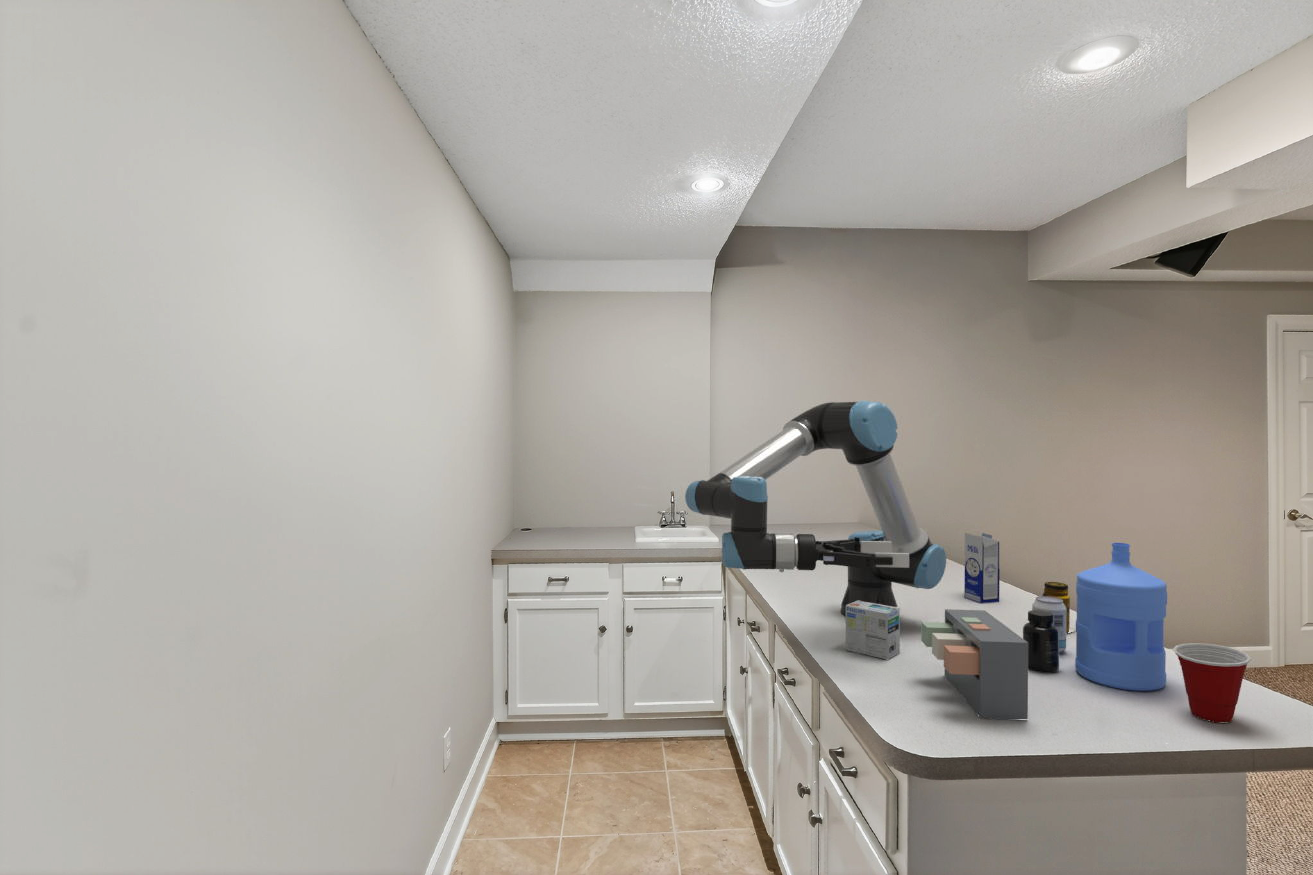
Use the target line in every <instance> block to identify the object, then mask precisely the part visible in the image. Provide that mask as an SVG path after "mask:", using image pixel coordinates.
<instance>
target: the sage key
mask: <svg viewBox="0 0 1313 875" xmlns="http://www.w3.org/2000/svg"><path fill="white" fill-rule="evenodd" d="M932 633H949V634H953V623H945V622H932V621H921V642H922V643H923V644H924V646H925V647H926V648H932Z"/></svg>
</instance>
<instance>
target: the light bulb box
mask: <svg viewBox="0 0 1313 875" xmlns="http://www.w3.org/2000/svg"><path fill="white" fill-rule="evenodd" d="M900 610H901V609H900V607H892V606H886V605H881V604H875V603H869V602H863V601H859V600H857V601H855V602H852V603H850V604H847V605H846V616H845V651H849V652H855V653H858V654H861V653H862V654H863V655H866V654H867V655H866V656H871V657H874V658H879V659H882V660H887V661H888V660H890V659H892V658H894V657H895V656H897V655H898V654H900V653H901V644H900V643H901V642H900V641H901V640H900V639H901V631H900V630H901V628H900V620H901V619H900V616H901V615H900V614H901V613H900V612H901V611H900ZM862 654H861V655H862Z"/></svg>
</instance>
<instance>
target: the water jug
mask: <svg viewBox="0 0 1313 875" xmlns="http://www.w3.org/2000/svg"><path fill="white" fill-rule="evenodd" d="M1111 546H1112V550H1111V561H1110V562H1108V563H1105V564H1102V565H1099V566H1096V567H1093V568H1089V569H1086V570H1083V571H1080V572H1079V573H1077V576H1076V586H1075V591H1076V592H1075V593H1076V620H1075V630H1076V631H1075V633H1076V634H1075V637H1076V640H1075V641H1076V647H1075V648H1076V649H1075V655H1076V656H1075V658H1074V662H1075V664H1074V666H1075V670H1076V672H1077V673H1078V674H1080V675H1081V676H1082V677H1083V678H1085V679H1087V680H1089V681H1091V682H1093V683H1096V684H1099V685H1103V686H1106V687H1110V688H1114V689H1119V690H1125V691H1126V690H1127V691H1133V692H1134V691H1136V692H1151V691H1158V690H1160V689H1162V688H1163V687H1164V686H1166V684H1167V672H1166V660H1167V658H1166V656H1167V653H1166V652H1167V651H1166V650H1165V645H1164V624H1165V622H1164V619H1165V618H1166V617H1167V605H1168V591H1167V588H1168V587H1167V583H1166V581H1164V580H1162V579H1160V578H1159V577H1156V576H1154V575H1152V574H1151V573H1149V572H1146V571H1145V570H1143V569H1140V568H1139V567H1136V566H1135V565H1132V563H1131V562H1130V556H1131V552H1130V547H1131V544H1130V543H1125V542H1124V543H1123V542H1111Z"/></svg>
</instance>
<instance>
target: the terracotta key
mask: <svg viewBox="0 0 1313 875" xmlns="http://www.w3.org/2000/svg"><path fill="white" fill-rule="evenodd" d="M943 668H944V670H945V669H946V670H947V671H948V672H949V673H950V674H966V675H979V670H980V648H979V647H978V646H950V645H944V660H943Z"/></svg>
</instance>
